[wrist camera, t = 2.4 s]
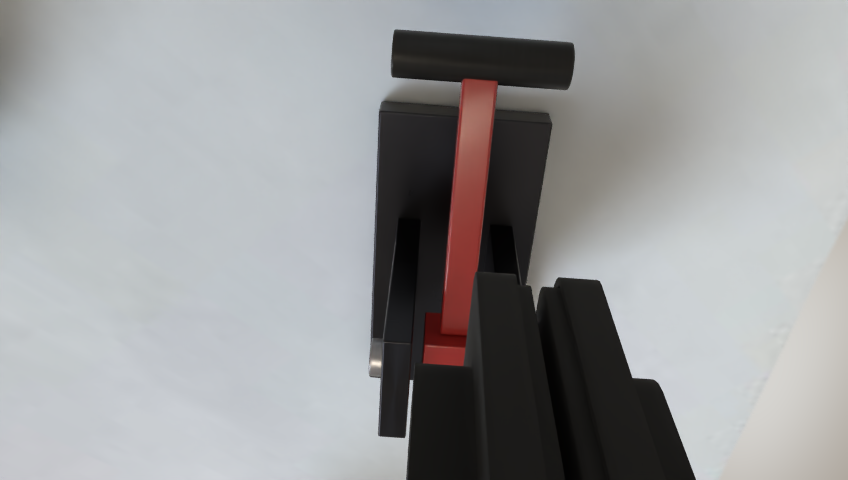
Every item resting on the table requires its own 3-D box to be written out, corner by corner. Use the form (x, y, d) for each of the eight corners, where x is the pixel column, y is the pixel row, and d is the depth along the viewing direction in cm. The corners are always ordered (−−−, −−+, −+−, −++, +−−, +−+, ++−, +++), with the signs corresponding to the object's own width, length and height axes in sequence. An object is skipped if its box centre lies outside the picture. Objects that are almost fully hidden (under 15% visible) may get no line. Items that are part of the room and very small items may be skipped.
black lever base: (381, 100, 30) (354, 211, 22) (549, 113, 30) (588, 228, 22) (371, 362, 37) (348, 522, 29) (507, 371, 37) (524, 535, 29)
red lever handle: (396, 25, 23) (391, 34, 21) (567, 37, 23) (580, 48, 21) (378, 371, 28) (373, 408, 26) (518, 381, 28) (524, 418, 26)
